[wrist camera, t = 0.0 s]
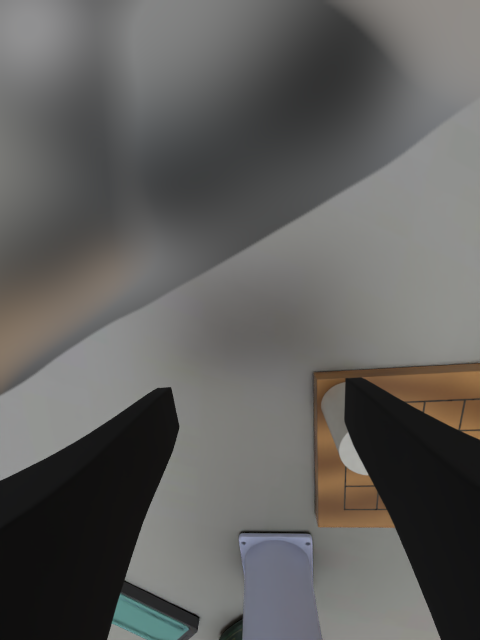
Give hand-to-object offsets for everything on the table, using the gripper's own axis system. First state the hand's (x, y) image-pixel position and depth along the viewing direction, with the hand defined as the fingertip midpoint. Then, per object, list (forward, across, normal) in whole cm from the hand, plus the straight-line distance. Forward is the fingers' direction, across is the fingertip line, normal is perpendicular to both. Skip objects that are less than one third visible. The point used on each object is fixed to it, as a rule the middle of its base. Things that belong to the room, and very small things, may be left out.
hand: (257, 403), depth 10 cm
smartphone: (+10, +19, +39) cm, 45 cm away
